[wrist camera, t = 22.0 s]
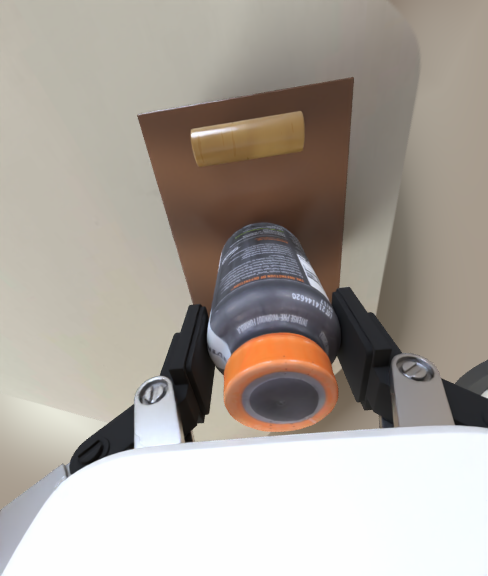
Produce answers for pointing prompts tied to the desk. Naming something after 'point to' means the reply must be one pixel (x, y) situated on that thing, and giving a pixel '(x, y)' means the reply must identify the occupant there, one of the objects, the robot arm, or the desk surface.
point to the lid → (254, 174)
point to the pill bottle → (272, 332)
